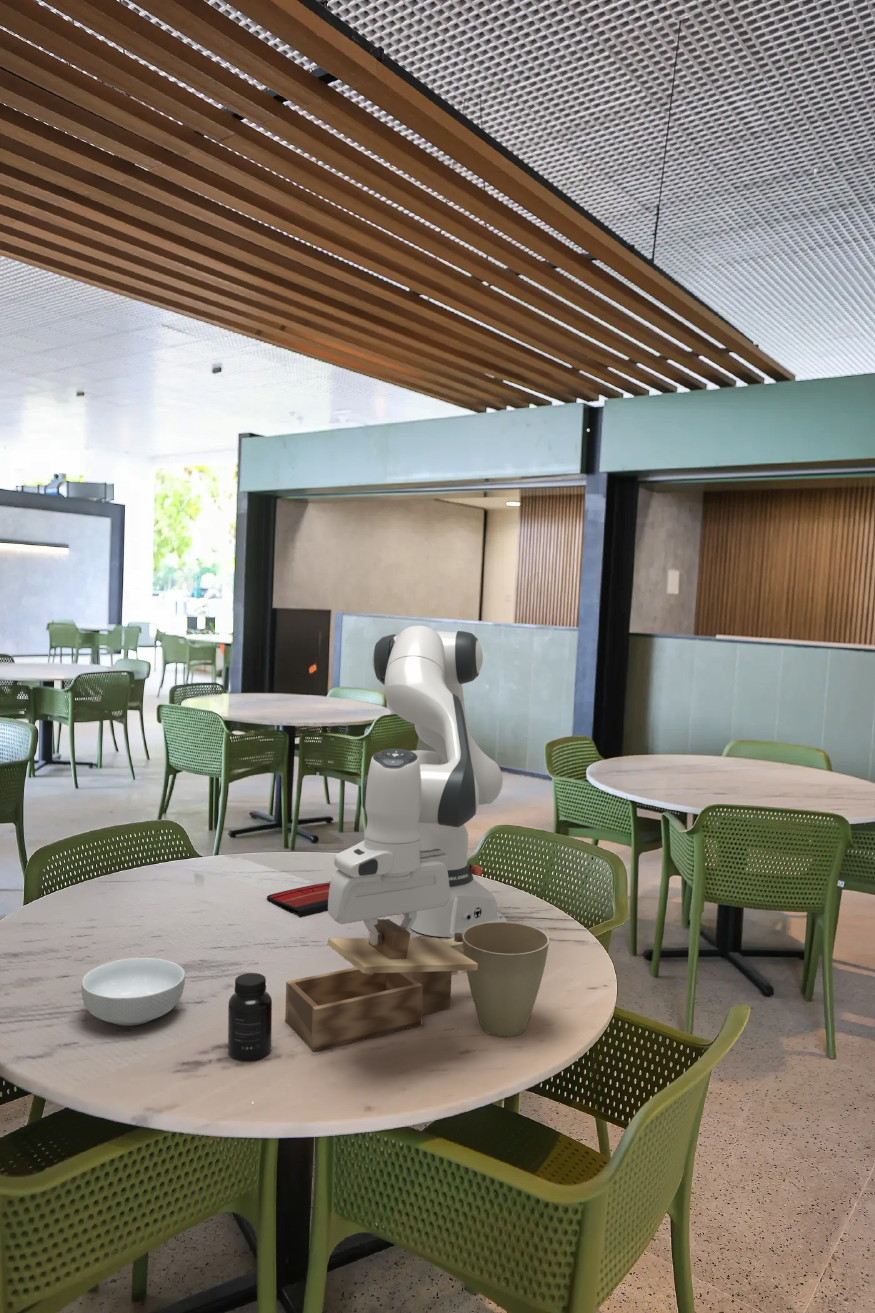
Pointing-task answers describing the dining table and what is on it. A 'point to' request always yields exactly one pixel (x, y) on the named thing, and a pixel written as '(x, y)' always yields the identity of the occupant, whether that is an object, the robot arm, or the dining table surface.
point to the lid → (400, 952)
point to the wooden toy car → (456, 942)
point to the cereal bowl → (133, 990)
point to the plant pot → (505, 973)
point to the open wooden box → (362, 1004)
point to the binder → (303, 899)
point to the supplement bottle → (249, 1018)
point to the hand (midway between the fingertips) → (389, 941)
